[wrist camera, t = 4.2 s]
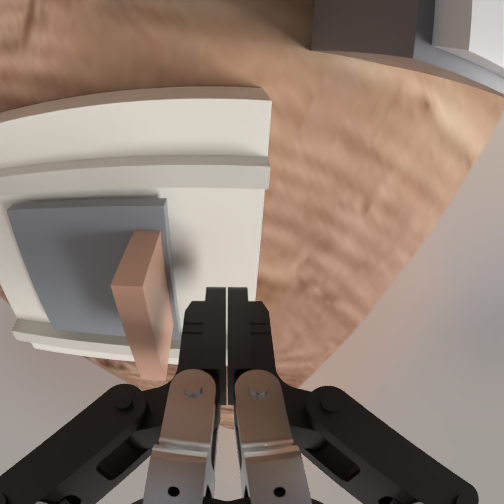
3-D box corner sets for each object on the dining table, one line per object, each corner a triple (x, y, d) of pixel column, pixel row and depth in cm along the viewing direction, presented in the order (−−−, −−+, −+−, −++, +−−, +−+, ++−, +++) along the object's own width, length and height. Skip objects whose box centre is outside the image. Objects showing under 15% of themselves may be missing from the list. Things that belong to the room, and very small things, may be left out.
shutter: (13, 203, 11) (-34, 253, 8) (166, 197, 11) (143, 258, 8) (57, 320, 15) (34, 374, 12) (181, 330, 15) (173, 393, 12)
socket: (0, 112, 12) (-61, 144, 8) (262, 88, 13) (275, 105, 9) (54, 306, 20) (29, 360, 16) (246, 316, 21) (250, 380, 17)
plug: (316, -27, 10) (446, -114, 1) (397, -7, 10) (573, -18, 2) (310, 50, 12) (448, 64, 4) (390, 65, 12) (565, 124, 4)
